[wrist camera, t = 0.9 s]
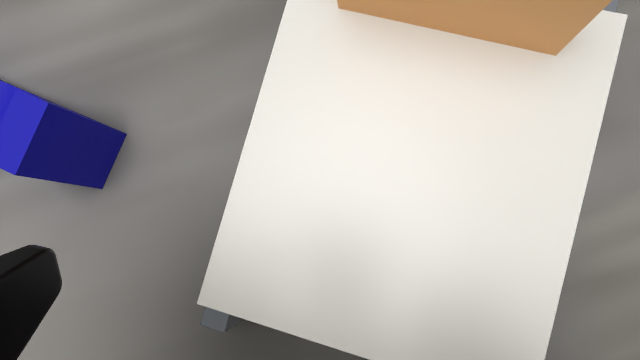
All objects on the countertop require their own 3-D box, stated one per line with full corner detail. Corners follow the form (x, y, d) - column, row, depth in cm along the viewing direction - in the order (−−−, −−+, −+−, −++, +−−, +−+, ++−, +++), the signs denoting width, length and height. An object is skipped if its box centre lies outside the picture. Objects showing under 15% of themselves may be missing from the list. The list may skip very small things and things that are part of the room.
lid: (524, 403, 16) (739, 650, 7) (204, 300, 18) (8, 379, 8) (616, 24, 17) (917, -234, 8) (305, -40, 19) (234, -318, 9)
